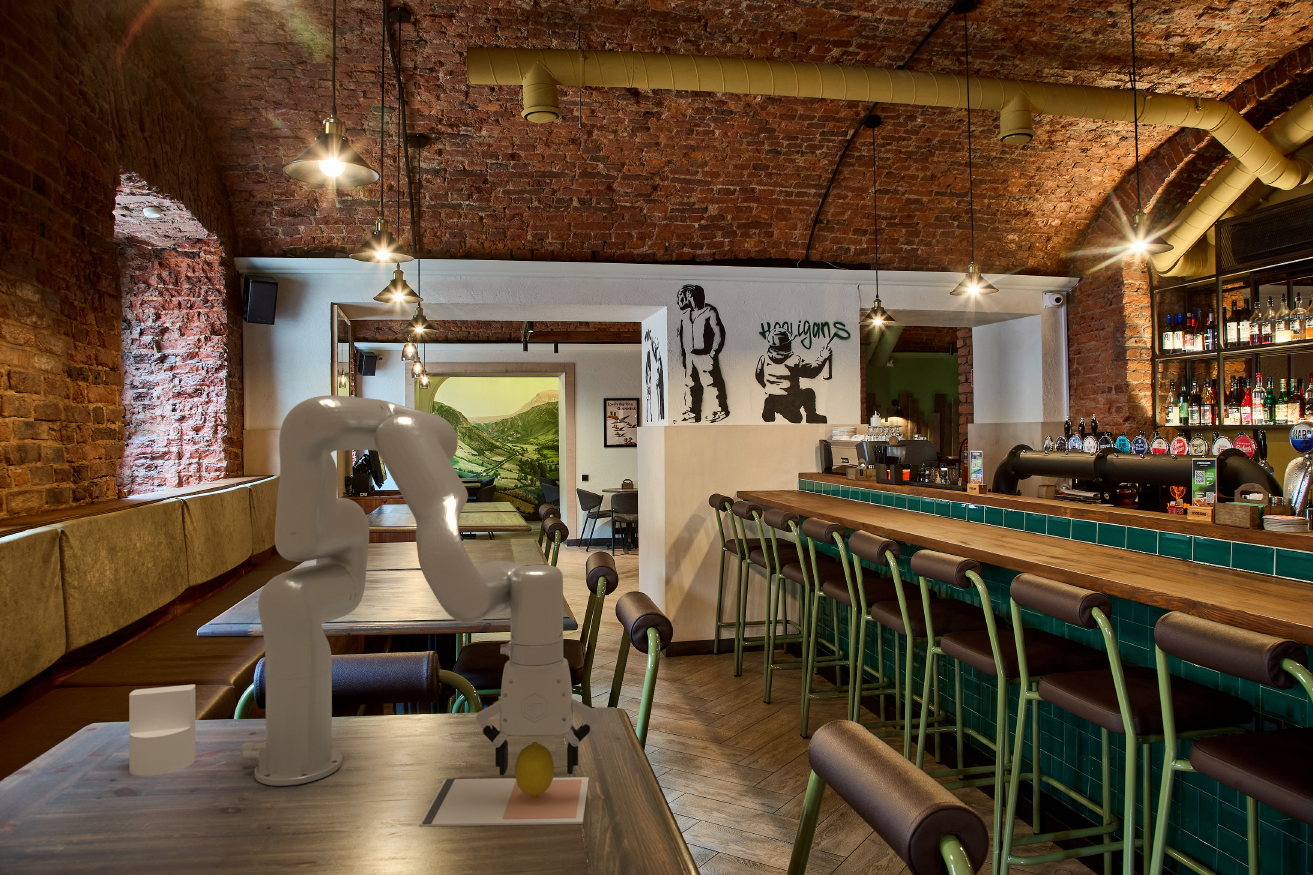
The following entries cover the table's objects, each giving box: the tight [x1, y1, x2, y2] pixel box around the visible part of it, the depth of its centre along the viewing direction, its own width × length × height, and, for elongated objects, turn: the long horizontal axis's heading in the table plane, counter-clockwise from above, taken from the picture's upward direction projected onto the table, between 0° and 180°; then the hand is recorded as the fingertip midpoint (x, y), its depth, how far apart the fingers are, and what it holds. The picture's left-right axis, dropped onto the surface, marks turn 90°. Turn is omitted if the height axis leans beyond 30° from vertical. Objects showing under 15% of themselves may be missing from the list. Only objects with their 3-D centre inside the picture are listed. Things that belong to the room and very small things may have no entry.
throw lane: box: [418, 776, 590, 827], centre depth 113 cm, size 22×14×1 cm, turn 92°
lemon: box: [514, 741, 555, 798], centre depth 113 cm, size 6×6×8 cm
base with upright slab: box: [128, 684, 196, 777], centre depth 126 cm, size 9×9×12 cm
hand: (537, 770), depth 113 cm, fingers open, 9 cm apart
